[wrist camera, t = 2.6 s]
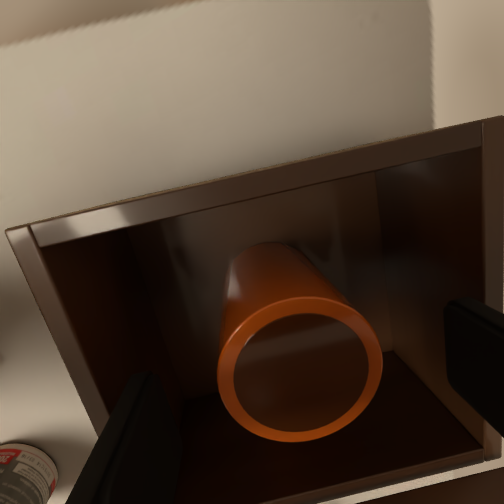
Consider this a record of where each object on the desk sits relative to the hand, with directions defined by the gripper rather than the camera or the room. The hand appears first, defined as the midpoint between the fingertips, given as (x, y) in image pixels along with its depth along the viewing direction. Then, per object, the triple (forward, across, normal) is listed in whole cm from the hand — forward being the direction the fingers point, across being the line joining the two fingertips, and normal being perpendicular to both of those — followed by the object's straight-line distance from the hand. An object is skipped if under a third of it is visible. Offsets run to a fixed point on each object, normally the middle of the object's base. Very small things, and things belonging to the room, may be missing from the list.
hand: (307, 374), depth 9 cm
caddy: (+7, 0, 0) cm, 7 cm away
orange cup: (+7, 0, 0) cm, 7 cm away
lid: (-7, 0, +7) cm, 10 cm away
